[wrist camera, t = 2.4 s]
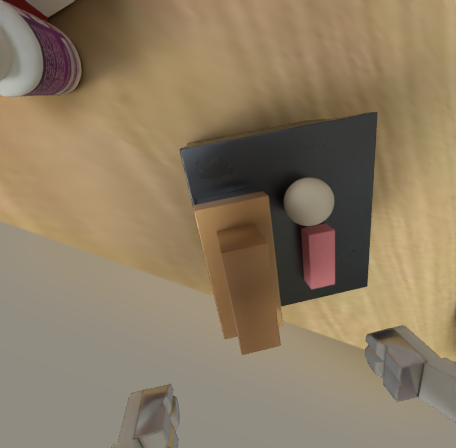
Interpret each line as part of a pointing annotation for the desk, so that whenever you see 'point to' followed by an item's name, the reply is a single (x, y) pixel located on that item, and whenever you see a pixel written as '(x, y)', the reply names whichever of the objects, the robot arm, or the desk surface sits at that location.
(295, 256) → the cabinet
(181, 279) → the desk surface
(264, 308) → the brush
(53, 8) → the book
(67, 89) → the pill bottle
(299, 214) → the egg
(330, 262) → the eraser
